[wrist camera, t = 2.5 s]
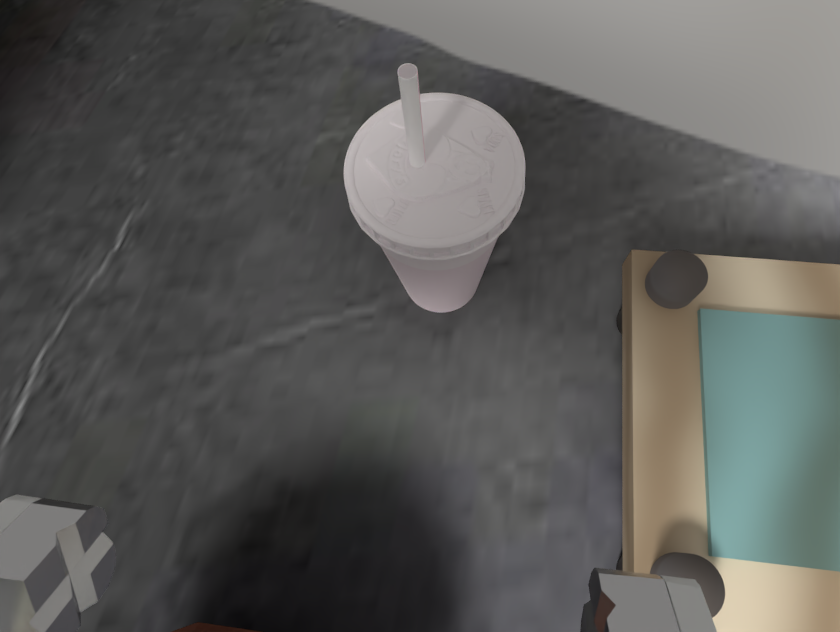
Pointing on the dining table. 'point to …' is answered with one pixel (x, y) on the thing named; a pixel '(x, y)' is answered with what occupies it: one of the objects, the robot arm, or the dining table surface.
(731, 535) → the peg shelf
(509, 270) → the dining table surface
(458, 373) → the dining table surface
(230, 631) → the muffin
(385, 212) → the smoothie
